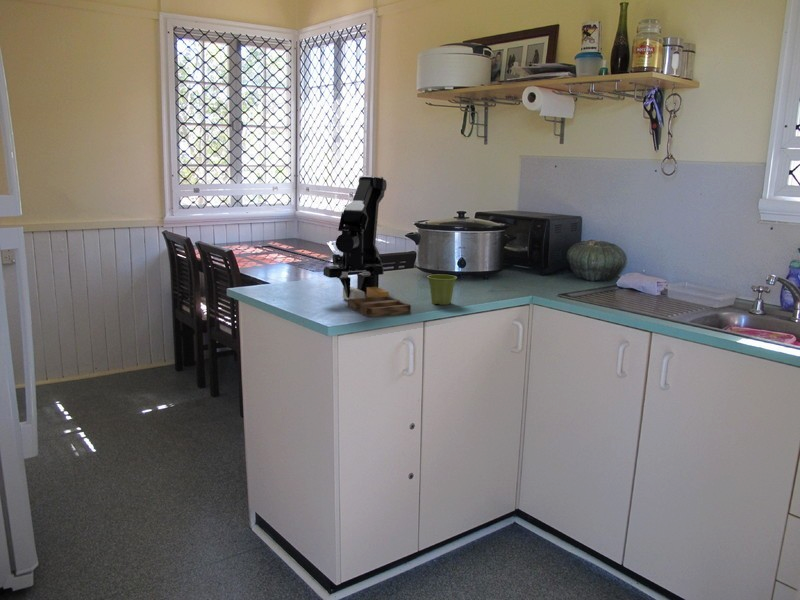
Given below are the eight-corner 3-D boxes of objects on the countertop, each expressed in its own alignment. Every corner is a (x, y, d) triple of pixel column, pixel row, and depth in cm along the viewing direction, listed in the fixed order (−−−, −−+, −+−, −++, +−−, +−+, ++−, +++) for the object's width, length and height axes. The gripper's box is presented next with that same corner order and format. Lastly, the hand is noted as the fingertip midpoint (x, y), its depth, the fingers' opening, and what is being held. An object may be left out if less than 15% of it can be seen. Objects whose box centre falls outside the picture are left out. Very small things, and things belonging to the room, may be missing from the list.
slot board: (388, 303, 212) (388, 295, 212) (410, 312, 200) (410, 305, 199) (348, 306, 206) (348, 299, 205) (368, 317, 193) (368, 308, 193)
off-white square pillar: (342, 298, 217) (342, 287, 216) (352, 297, 219) (352, 286, 218) (354, 303, 209) (354, 292, 208) (364, 302, 211) (364, 291, 210)
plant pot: (421, 301, 217) (422, 274, 215) (447, 299, 220) (448, 273, 219) (434, 307, 208) (435, 279, 207) (460, 305, 212) (462, 278, 210)
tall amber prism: (366, 297, 221) (366, 287, 220) (376, 296, 223) (376, 286, 222) (378, 303, 213) (379, 292, 213) (388, 302, 215) (388, 291, 214)
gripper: (369, 244, 222) (368, 290, 225) (316, 246, 213) (317, 294, 216) (384, 248, 212) (383, 296, 215) (330, 251, 203) (330, 301, 207)
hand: (353, 297), depth 214 cm, fingers closed on off-white square pillar, 3 cm apart
